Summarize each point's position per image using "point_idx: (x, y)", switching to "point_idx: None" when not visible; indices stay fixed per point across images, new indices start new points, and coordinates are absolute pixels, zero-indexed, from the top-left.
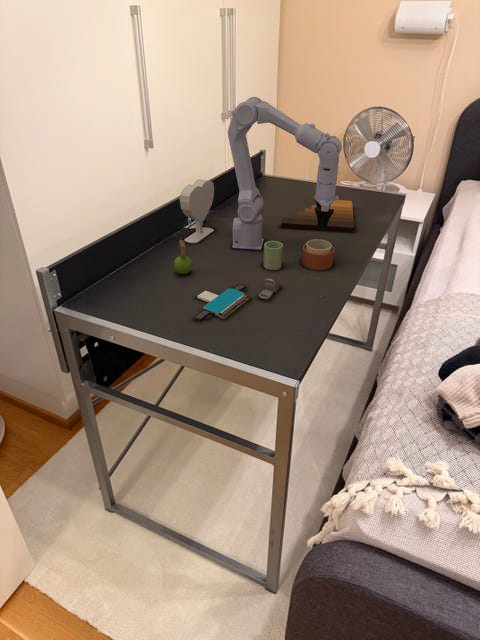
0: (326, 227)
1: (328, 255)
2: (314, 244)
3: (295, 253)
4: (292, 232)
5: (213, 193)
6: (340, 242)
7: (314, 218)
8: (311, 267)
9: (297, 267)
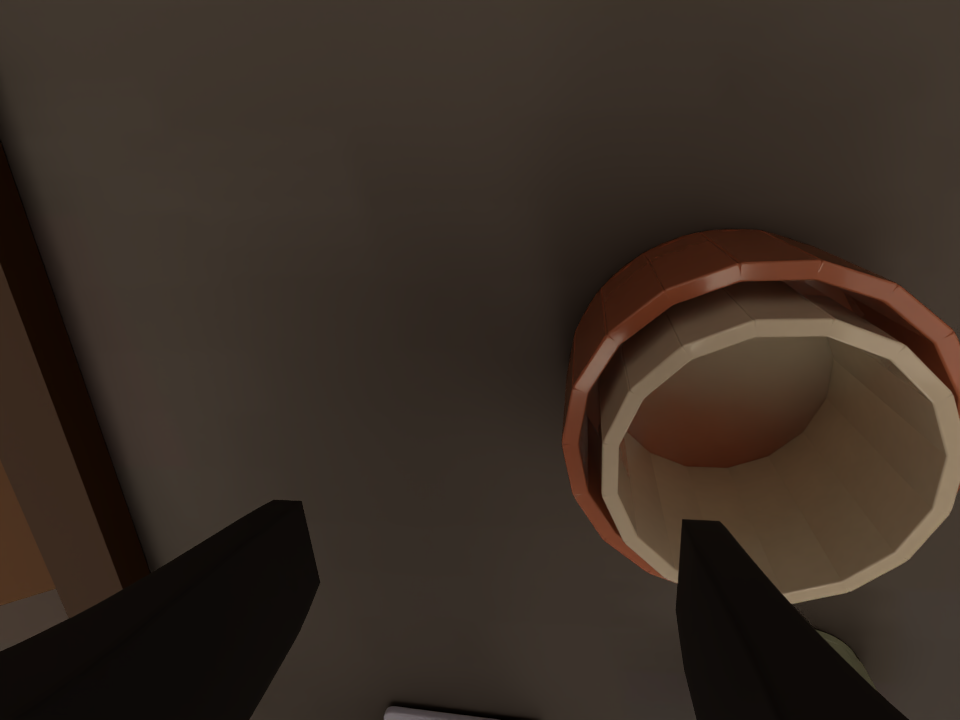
0: (746, 556)
1: (945, 333)
2: (624, 480)
3: (548, 530)
4: (199, 539)
5: None
6: (228, 163)
7: None
8: None
9: None
